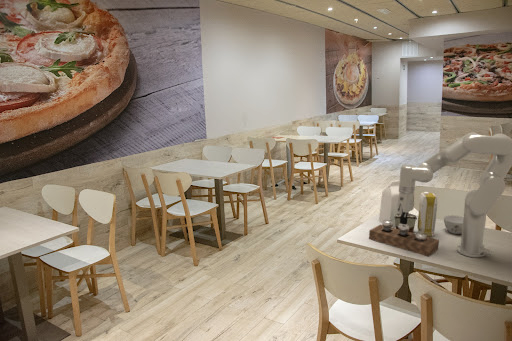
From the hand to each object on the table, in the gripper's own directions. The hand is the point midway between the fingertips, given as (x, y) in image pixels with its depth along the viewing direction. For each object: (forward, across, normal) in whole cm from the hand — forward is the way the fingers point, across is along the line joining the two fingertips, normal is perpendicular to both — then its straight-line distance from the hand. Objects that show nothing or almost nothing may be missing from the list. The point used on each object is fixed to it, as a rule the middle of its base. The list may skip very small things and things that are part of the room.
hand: (403, 223), depth 209 cm
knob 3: (+10, 0, -9) cm, 14 cm away
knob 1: (+8, 0, +9) cm, 11 cm away
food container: (+12, +18, +8) cm, 23 cm away
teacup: (+11, +36, -16) cm, 41 cm away
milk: (+12, +26, +18) cm, 34 cm away
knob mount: (+11, 0, 0) cm, 11 cm away
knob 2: (+7, 0, 0) cm, 7 cm away
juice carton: (+11, +22, -4) cm, 25 cm away
